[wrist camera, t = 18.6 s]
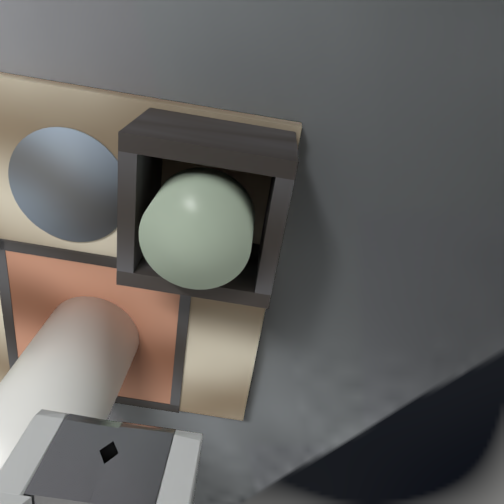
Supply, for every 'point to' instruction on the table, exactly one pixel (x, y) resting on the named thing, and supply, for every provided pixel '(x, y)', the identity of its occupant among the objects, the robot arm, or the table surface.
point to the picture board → (135, 231)
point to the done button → (198, 229)
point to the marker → (68, 367)
